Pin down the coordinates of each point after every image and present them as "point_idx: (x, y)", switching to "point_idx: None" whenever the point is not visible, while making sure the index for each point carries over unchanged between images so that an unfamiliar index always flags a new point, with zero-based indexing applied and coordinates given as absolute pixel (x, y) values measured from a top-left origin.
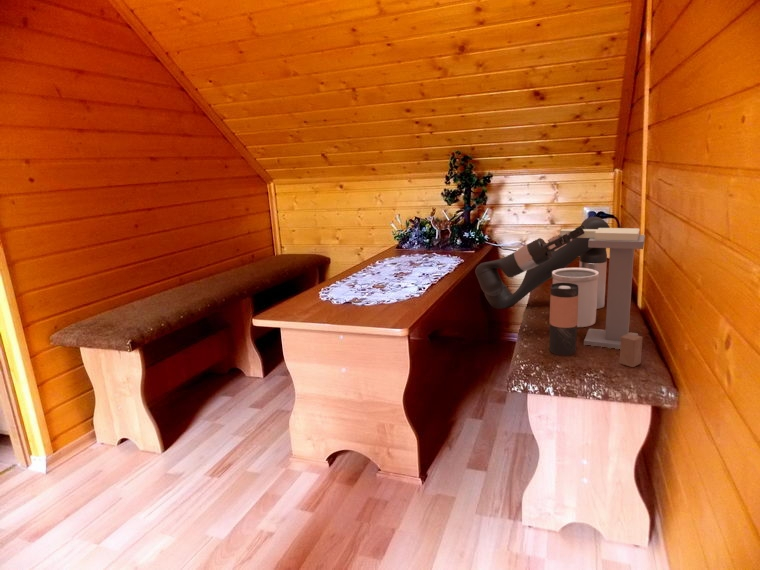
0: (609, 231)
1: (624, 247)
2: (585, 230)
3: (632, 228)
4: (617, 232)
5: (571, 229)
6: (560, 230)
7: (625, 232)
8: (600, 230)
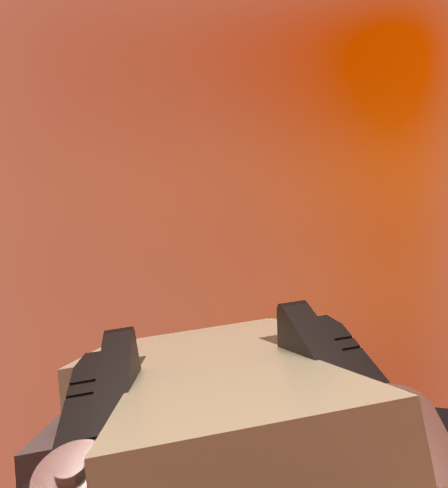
0: (239, 332)
1: None
2: (234, 352)
3: None
4: (263, 325)
5: (182, 390)
6: (383, 400)
7: (252, 324)
8: (208, 342)
